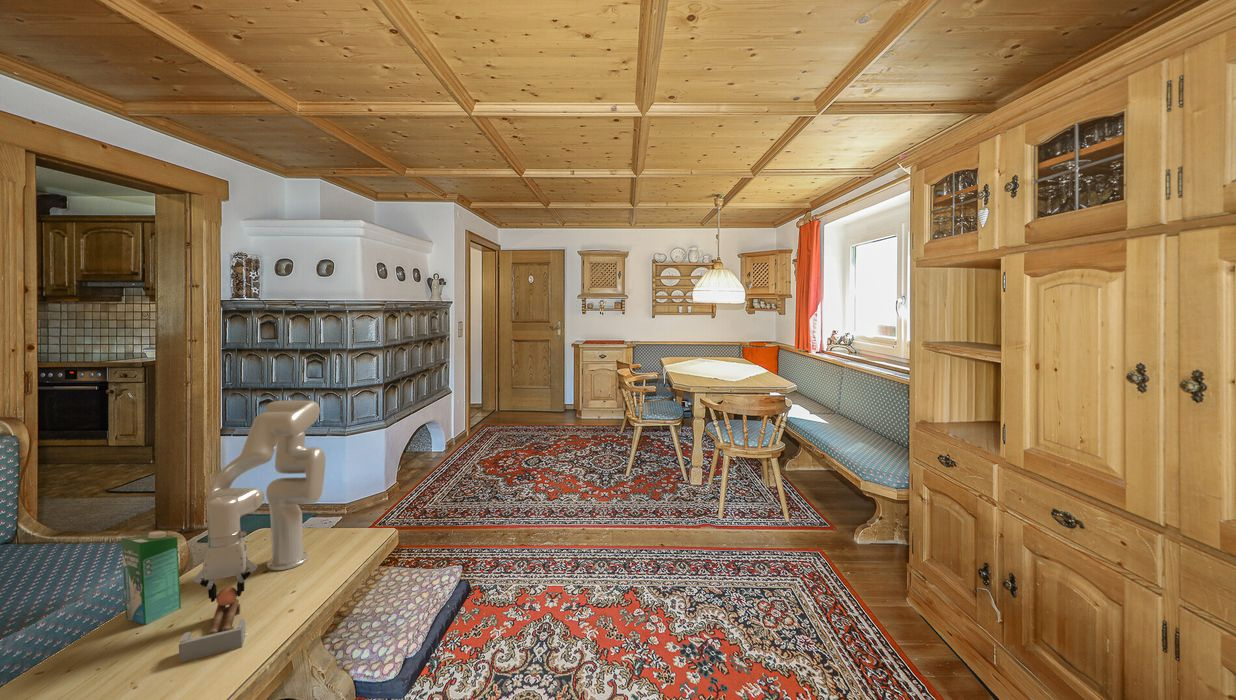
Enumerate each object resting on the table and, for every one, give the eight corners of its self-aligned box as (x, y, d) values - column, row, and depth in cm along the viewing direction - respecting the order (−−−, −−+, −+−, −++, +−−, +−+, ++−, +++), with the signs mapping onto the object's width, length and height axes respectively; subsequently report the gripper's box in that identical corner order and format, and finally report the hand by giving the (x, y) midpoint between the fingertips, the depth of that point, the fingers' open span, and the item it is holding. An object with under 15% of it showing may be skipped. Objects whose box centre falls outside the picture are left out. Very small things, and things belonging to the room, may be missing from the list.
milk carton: (181, 608, 148) (177, 529, 146) (144, 625, 140) (139, 542, 138) (162, 602, 151) (158, 525, 149) (125, 618, 143) (121, 537, 141)
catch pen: (185, 650, 129) (184, 632, 129) (245, 635, 136) (244, 618, 135) (179, 662, 125) (178, 644, 125) (241, 646, 131) (241, 629, 131)
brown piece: (217, 616, 144) (216, 602, 144) (240, 610, 147) (240, 597, 147) (206, 639, 134) (205, 624, 134) (231, 633, 137) (231, 618, 136)
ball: (218, 602, 145) (218, 586, 145) (239, 597, 148) (238, 582, 147) (214, 611, 141) (213, 594, 140) (235, 606, 143) (235, 590, 143)
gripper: (262, 528, 150) (264, 583, 151) (191, 539, 142) (193, 598, 143) (257, 537, 144) (260, 595, 145) (183, 550, 135) (185, 611, 137)
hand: (227, 596), depth 144 cm, fingers open, 5 cm apart
